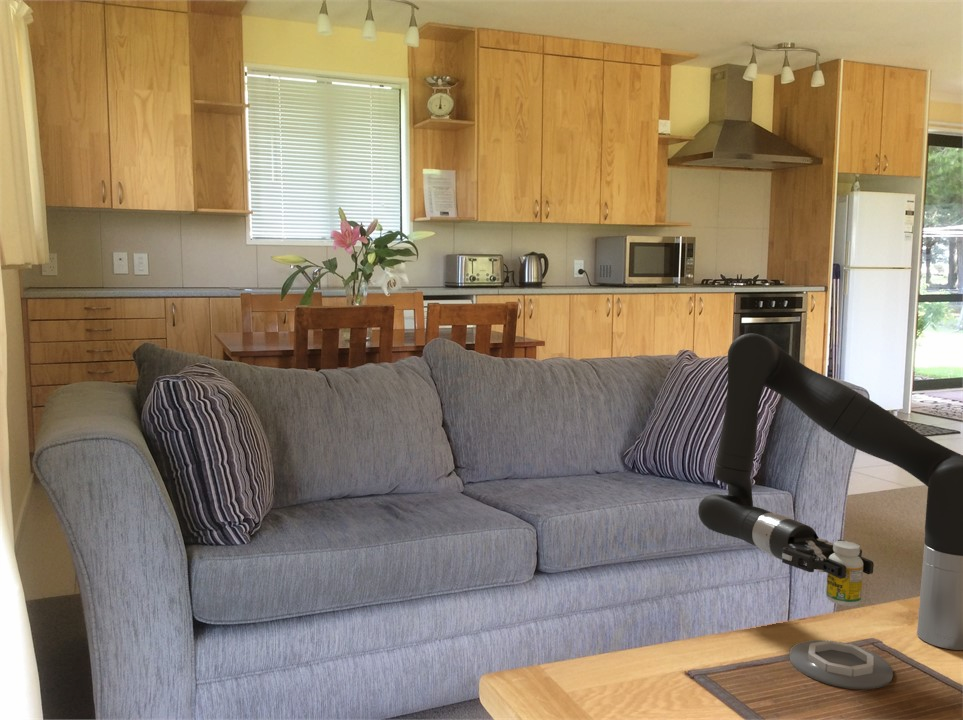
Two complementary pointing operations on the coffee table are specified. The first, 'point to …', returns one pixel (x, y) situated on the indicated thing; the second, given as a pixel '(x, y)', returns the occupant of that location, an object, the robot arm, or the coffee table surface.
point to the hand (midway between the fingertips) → (857, 570)
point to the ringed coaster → (841, 664)
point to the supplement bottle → (851, 585)
